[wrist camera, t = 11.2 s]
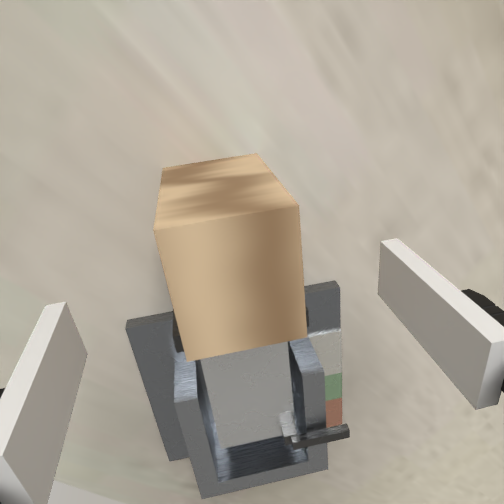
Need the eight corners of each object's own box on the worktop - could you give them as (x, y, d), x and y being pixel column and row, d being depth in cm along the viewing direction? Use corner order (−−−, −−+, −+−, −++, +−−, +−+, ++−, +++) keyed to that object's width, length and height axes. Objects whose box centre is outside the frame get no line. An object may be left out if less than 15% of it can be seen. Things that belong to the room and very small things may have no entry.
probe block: (184, 264, 28) (187, 362, 19) (162, 167, 24) (153, 230, 16) (267, 249, 28) (307, 337, 19) (256, 153, 25) (298, 205, 16)
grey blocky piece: (205, 420, 33) (210, 479, 28) (173, 288, 27) (172, 336, 22) (329, 393, 34) (352, 445, 29) (324, 261, 28) (353, 301, 23)
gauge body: (169, 451, 36) (168, 507, 31) (127, 320, 29) (117, 367, 24) (337, 413, 37) (358, 461, 33) (335, 280, 30) (361, 318, 26)
